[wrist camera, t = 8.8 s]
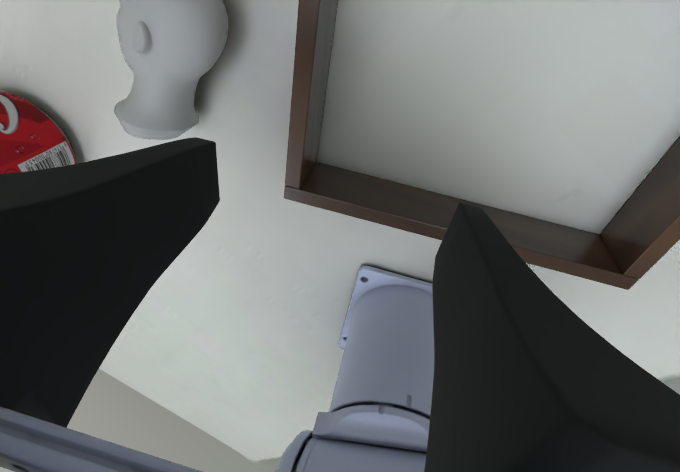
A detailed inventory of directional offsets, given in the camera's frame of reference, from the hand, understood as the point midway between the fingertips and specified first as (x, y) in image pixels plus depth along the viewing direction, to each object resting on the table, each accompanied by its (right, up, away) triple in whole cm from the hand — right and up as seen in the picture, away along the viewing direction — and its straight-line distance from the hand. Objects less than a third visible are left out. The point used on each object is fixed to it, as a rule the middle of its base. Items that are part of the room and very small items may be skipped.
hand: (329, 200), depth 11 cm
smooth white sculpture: (-8, +9, +8) cm, 14 cm away
